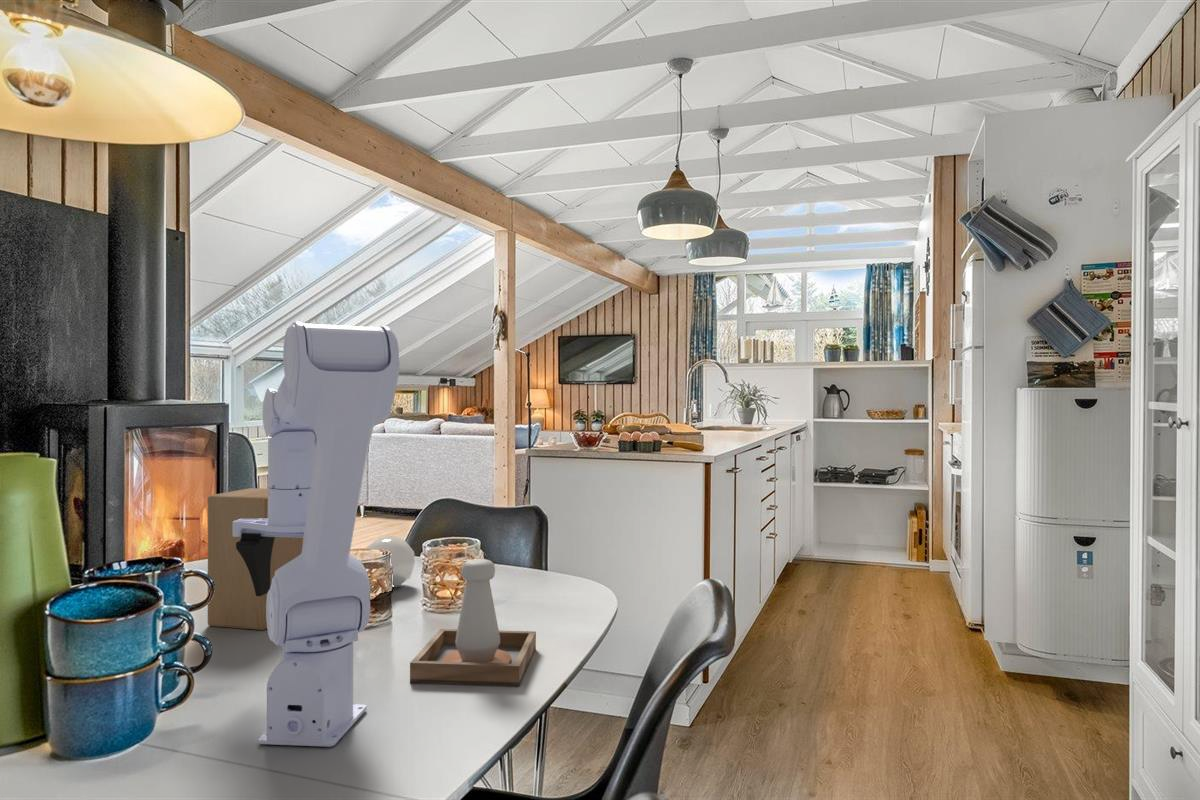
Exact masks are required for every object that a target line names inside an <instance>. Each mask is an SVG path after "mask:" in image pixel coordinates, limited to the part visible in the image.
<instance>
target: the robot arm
mask: <svg viewBox="0 0 1200 800" xmlns="http://www.w3.org/2000/svg"><path fill="white" fill-rule="evenodd" d="M283 340H284V341H283V351H282V352H283V353H282V355H283V356H282V360H283V374H284V376H283V378H282V380H281V382H280V384H279V386H278V388H277V389H275V388H271V387H270V388H266V391H265V392H264V397H263V402H262V425H263V429H264V433H265V436H266V437H267V440H268V441H267V489H268V518H264V519H239V520H236V521H233V529H232V536H233V537H241V539H240V541H238V542H236V549H237V550H238V552H239V553H240V555H241V556H242V558H243V560H244V561H245V563H246V565H247V568H248V570H249V573H250V575H251V579H252V582H253V585H254V589H255V594H256V596H262V595H264V594H266V593H268V594H267V601H266V619H267V629H266V630H267V634H268V635H267V636H268V638H269V640H270V641H271V642H272V643H273V644H274V645H275V646H281V647H282V649H281V656H280V657H281V658H280V661H279V663H278V664H277V666H276V667H274V669H273V671H272V672H271V673H270V675H269V676H268V680H267V684H266V731H265V732H264V733H263V734H262V735H261V736H260V737H258V739H257V743H258V744H259V745H275V746H276V745H279V746H302V747H305V746H306V747H333V746H335V745H336V744H337V743H339V741H340V739H341V738H342V737H343V736H344V735H346V733H347V732H348V730H350V729H351V727H353V725H354V724H355V723H356V722H357V721H358V720H359V718H361V716H362V715H363V714H364V713H365V712H366V711H367V705H366V704H358V703H357V704H356V703H355V704H354V642H358V641H359V633H362V632H363V631H364V630H365V629H366V627H367V626H368V624H369V621H370V617H371V601H370V590H371V585H370V580H369V577H368V574H367V571H366V569H365V567H364V565H363V564H362V560H360V559H358V558H356V557H355V556H352V555H351V554H350V553H351V547H352V542H353V535H354V530H355V524H356V519H357V513H358V507H359V502H360V495H361V490H362V484H363V478H364V472H365V467H366V461H367V455H368V451H369V448H370V447H369V446H370V443H371V439H372V434H373V431H374V428H375V427H376V426H377V425H378V424H380V423H382V422H383V421H385V420H386V419H389V418H390V415H391V410H392V406H393V405H394V402H395V396H396V390H397V385H398V381H399V375H400V350H399V349H400V348H399V343H398V339H397V336H396V334H395V333H394V332H393V330H392V329H391V328H390V327H389V326H387V325H386V326H385V325H381V326H380V327H379V326H378V327H375V326H357V325H339V324H338V325H337V324H336V325H335V324H317V323H302V322H301V321H293V322H292V323H291V324H290V325H289V326H288V327H287V328H286V330H285V334H284V339H283ZM298 532H303V533H298ZM275 537H294V538H303V546H302V553H301V554H300V555H299V556H298V557H296V558H295V559H293V560H291V561H290V562H288V563H287V564H285V565H283V566H282V567H280V568H279V569H277V570H276V571H275V576H274V577H273V578H272V584H271V587H270V563H271V555H272V548H273V543H274V539H275Z"/></svg>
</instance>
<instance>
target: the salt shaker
mask: <svg viewBox="0 0 1200 800" xmlns="http://www.w3.org/2000/svg"><path fill="white" fill-rule="evenodd" d="M495 566H496V565H495V563H493V561H492V560H490V559H485V558H474V559H470V560H469V559H468V560H467V561H465V562H464V563H463V564H462V566H461V577H462V579H463V580H465V581H466V582H465V584H464V586H465V587H464V591H463V597H462V603H461V607H460V614H459V619H458V623H457V635H456V640H455V643H456V647H457V650H458V652H459V654H460V657H461V659H462V660H463V661H464V662H476V663H488V662H491V661H493V658H494V656H495V653H496V651H497V648H498V646H499V644H500V635H499V631H500V629H499V624H498V620H497V619H498V618H497V614H496V609H495V604H494V598H493V593H492V587H491V583H490V582H491V581H490V580H492V579H494V577H495V575H496V567H495Z"/></svg>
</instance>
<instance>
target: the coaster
mask: <svg viewBox="0 0 1200 800" xmlns="http://www.w3.org/2000/svg"><path fill="white" fill-rule="evenodd" d="M442 661H443V662H464V661H463V660H462V659H461V657H460V654H459V652H458V651H455V652H452V653H450V654H448V655H446V656H445V657H444V658H443V659H442ZM488 663H509V664H510V663H511V656H510V654H508V653H507V652H505V651H502V650H499V649H497V651H496V653H495V656H494V658H493V661H491V662H488Z"/></svg>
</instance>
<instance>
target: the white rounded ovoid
mask: <svg viewBox="0 0 1200 800" xmlns="http://www.w3.org/2000/svg"><path fill="white" fill-rule="evenodd" d="M366 549H384V550H388V551H390V553H391V554H392V555H391V564H392V567H393V585H394V588H393V589H395V588H398V587H400V586H401V585H403V584H404V583H405V582H407V581H408V580H409V579H411V577H412V573H413V570H414V568H415V563H416V562H415V561H416V560H415V559H416V558H415V551H414V549H413V548H412V547H411V546H410V545H409V543H408V542H407V541H406V540H404V539H401V538H399V537H396V536H393V535H389V536H383V537H379V538H378V539H376V540H374V541H373V542H372V543H371V544H369V545H368V546H367V547H366ZM366 549H365V550H366Z"/></svg>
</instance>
